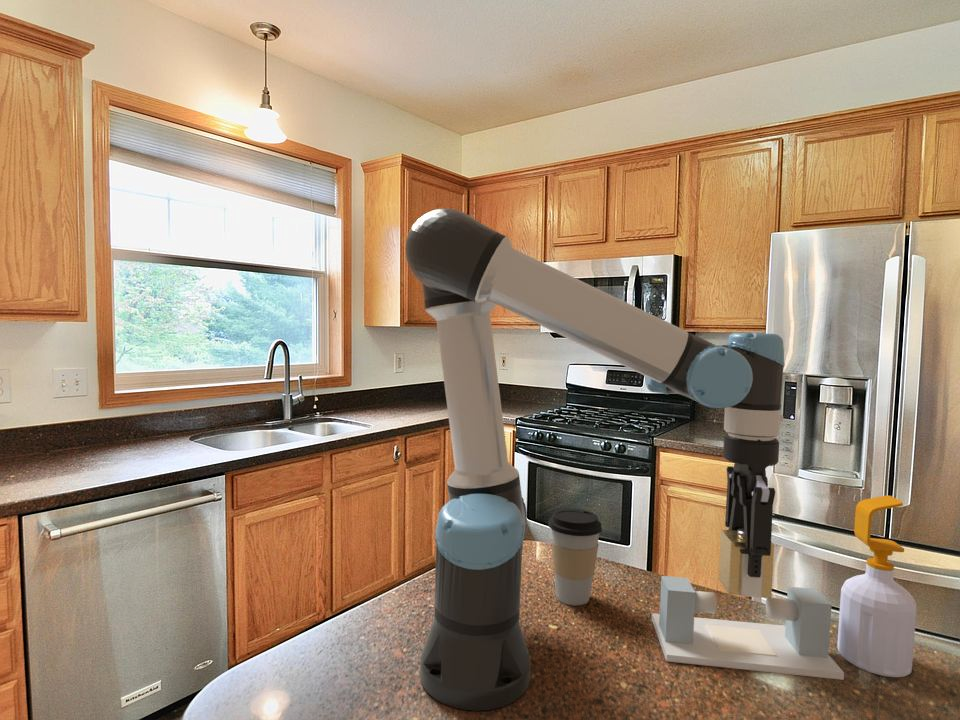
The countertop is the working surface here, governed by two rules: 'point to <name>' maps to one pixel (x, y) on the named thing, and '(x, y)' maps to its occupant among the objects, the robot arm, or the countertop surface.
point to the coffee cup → (574, 553)
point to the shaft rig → (747, 632)
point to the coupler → (733, 560)
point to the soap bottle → (877, 605)
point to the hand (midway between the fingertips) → (743, 586)
